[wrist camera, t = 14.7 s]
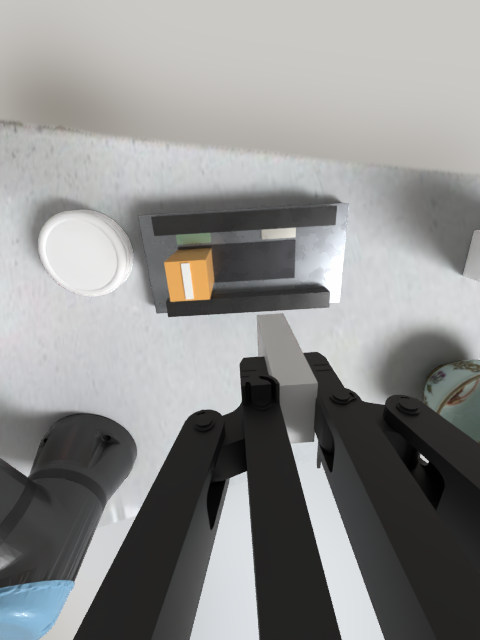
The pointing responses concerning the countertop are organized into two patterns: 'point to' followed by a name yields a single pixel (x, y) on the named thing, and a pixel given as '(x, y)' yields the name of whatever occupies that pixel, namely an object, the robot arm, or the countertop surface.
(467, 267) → the milk
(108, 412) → the countertop surface
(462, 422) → the bowl
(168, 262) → the lever
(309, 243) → the panel
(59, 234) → the coaster
